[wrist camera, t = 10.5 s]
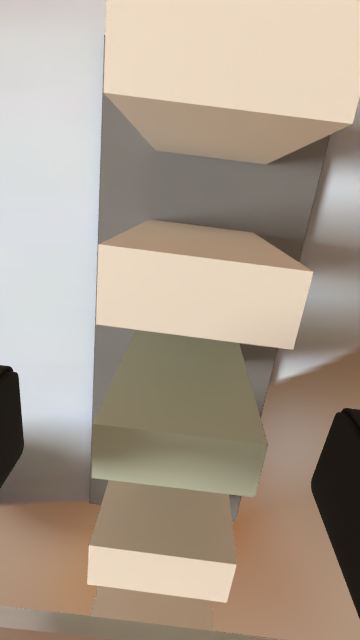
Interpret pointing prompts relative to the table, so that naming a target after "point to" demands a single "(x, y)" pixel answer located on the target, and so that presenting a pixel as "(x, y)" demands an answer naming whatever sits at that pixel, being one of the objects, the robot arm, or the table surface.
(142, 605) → the domino
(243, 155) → the domino
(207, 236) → the domino
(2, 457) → the robot arm
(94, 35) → the table surface
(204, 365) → the domino
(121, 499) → the domino
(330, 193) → the table surface
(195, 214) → the domino mat
